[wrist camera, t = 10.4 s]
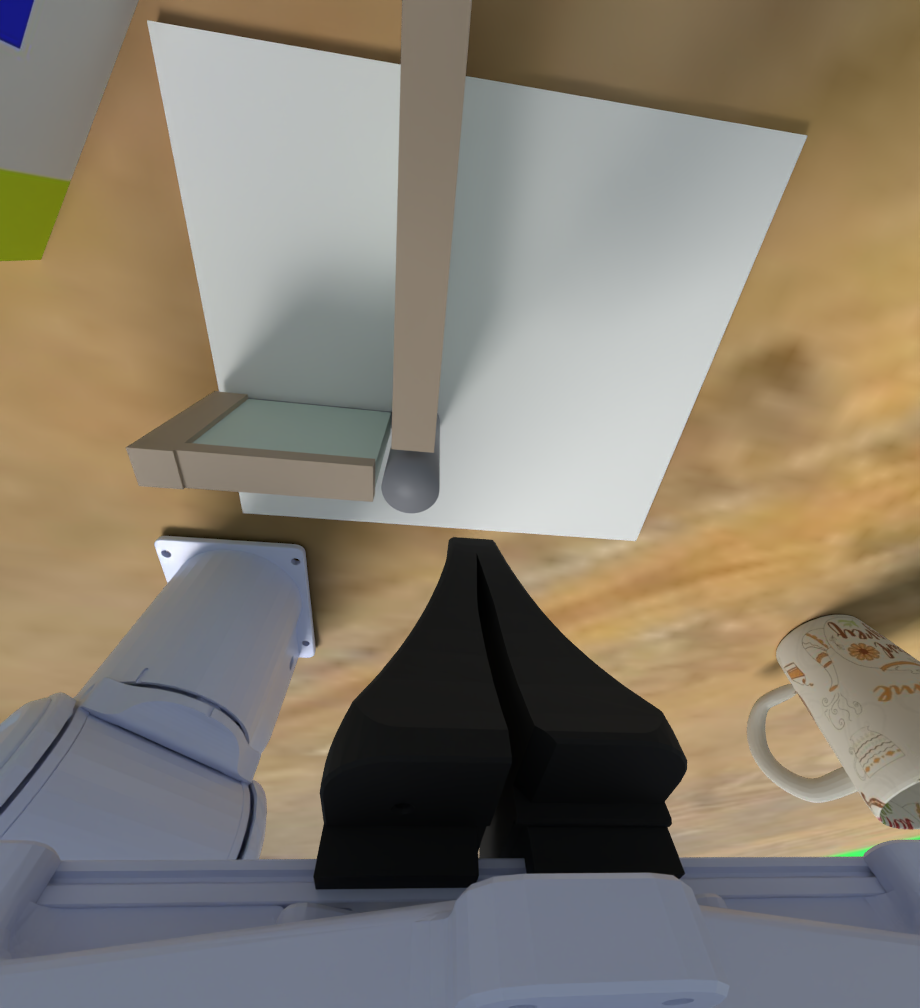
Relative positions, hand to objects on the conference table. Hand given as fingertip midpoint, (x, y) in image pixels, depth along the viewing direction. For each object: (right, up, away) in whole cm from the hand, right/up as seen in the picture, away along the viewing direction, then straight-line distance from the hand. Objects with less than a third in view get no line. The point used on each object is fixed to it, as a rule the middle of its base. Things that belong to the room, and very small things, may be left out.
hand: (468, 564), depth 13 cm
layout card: (0, +8, +6) cm, 10 cm away
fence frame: (-6, +6, +7) cm, 11 cm away
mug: (+25, -10, +19) cm, 32 cm away
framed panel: (-1, +12, +3) cm, 12 cm away
